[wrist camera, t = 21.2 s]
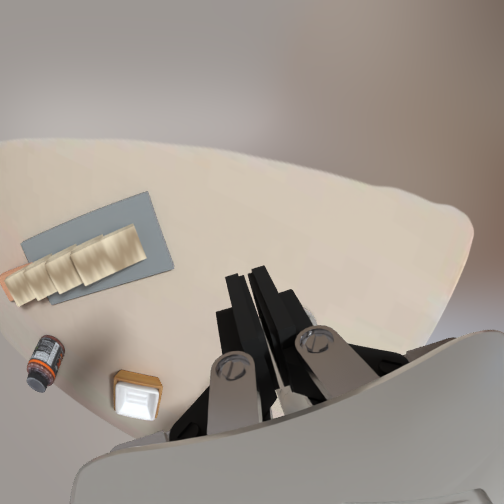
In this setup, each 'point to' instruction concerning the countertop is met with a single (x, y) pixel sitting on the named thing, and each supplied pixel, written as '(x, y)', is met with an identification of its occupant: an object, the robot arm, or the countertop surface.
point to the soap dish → (137, 395)
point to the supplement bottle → (44, 363)
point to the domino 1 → (2, 277)
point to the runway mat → (104, 223)
